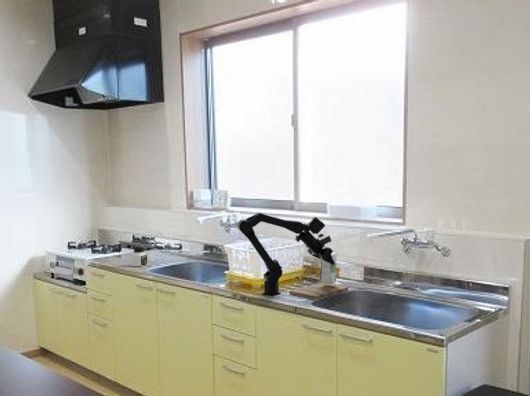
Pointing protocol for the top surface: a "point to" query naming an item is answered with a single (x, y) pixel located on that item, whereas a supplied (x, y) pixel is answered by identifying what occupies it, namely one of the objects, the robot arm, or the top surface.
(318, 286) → the walnut board
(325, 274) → the syrup box
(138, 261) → the medicine bottle
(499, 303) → the top surface
